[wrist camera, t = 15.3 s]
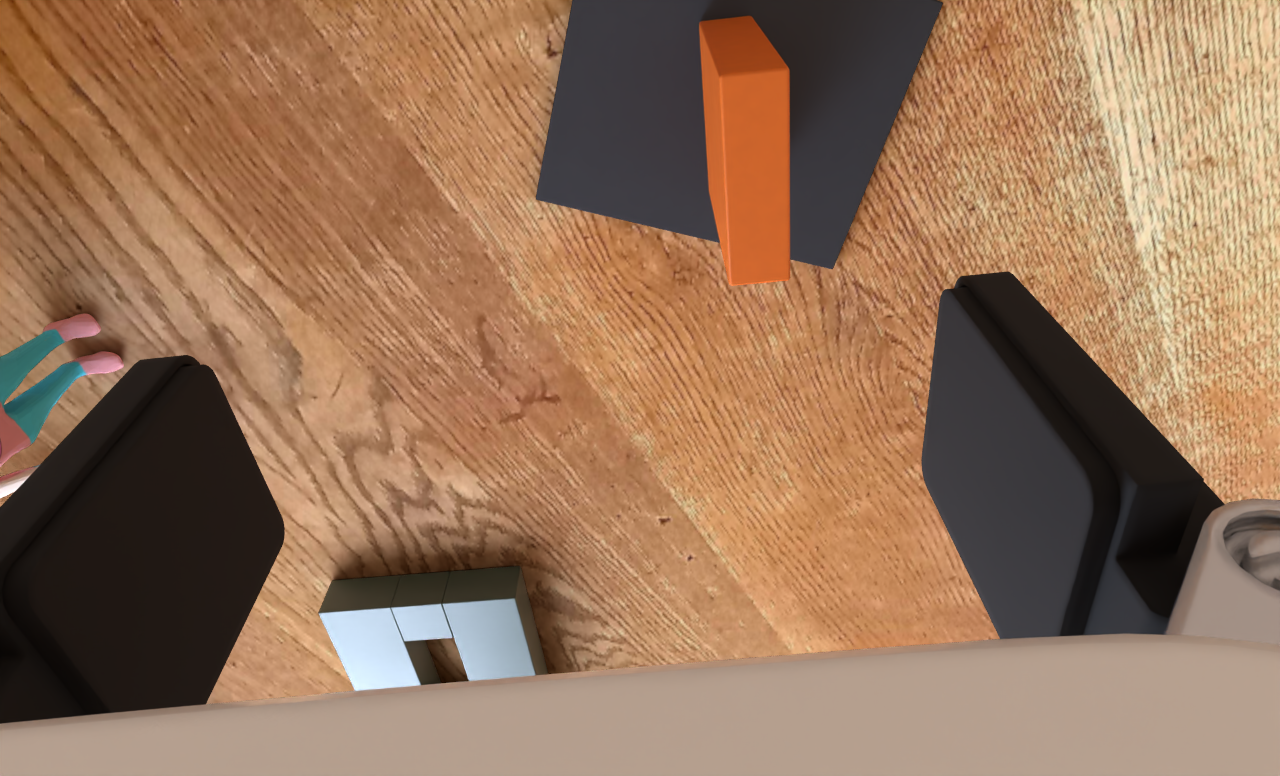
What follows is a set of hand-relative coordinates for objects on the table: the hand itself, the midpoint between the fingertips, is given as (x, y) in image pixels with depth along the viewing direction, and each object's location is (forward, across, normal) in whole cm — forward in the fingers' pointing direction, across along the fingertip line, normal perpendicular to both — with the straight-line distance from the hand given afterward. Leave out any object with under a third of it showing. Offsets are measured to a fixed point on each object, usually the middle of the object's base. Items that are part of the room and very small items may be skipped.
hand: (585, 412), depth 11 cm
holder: (+21, +12, +30) cm, 39 cm away
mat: (+21, -4, +2) cm, 22 cm away
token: (+21, -4, +2) cm, 21 cm away
